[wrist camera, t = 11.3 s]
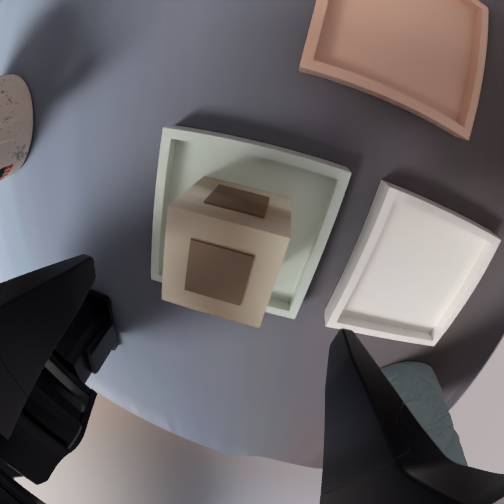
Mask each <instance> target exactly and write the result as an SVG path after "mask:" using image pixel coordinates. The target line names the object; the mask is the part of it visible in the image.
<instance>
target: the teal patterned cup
mask: <svg viewBox="0 0 504 504" xmlns="http://www.w3.org/2000/svg"><path fill="white" fill-rule="evenodd" d="M381 370H382V372H383V373H384V374H385V376H386V377H387V379H388V380H389V381H390V383H391V384H392V386H393V387H394V389H395V390H396V391H397V393H398V394H399V396H400V397H401V399H402V400H403V401H404V403H405V404H406V406H407V407H408V409H409V410H410V411H411V413H412V414H413V416H414V417H415V418H416V420H417V421H418V422H419V424H420V425H421V426H422V428H423V429H424V430H425V431H426V433H427V434H428V435H429V436H430V437H431V439H432V440H433V441H434V442H435V444H436V445H437V446H438V447H439V448H440V450H441V451H442V452H443V453H444V454H445V456H446V457H448V458H449V459H450V460H452V461H453V462H456V463H458V464H461V465H465V466H468V465H467V462H466V459H465V457H464V453H463V450H462V447H461V444H460V442H459V437H458V434H457V433H456V431H455V430H454V428H453V423H452V419H451V416H450V414H449V412H448V408H447V406H446V404H445V402H444V395H443V392H442V389H441V387H440V384H439V382H438V380H437V377H436V375H435V373H434V371H433V369H432V367H430V366H429V365H427V364H425V363H421V362H412V361H410V362H400V363H395V364H392V365H388V366H386V367H383V368H381ZM404 403H403V404H404Z"/></svg>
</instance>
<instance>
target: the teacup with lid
mask: <svg viewBox="0 0 504 504" xmlns="http://www.w3.org/2000/svg"><path fill="white" fill-rule="evenodd" d="M32 132H33V105H32V99H31V95H30V91H29V89H28V87H27V85H26V83H25V81H24V80H23V79H22V78H21V77H19V76H17V75H13V74H11V75H2V76H0V180H2V179H4V178H6V177H8V176H10V175H12V174H14V173H16V172H17V171H18V170H19V169H20V167H21V166H22V165H23V163H24V161H25V159H26V157H27V154H28V151H29V148H30V144H31V139H32Z"/></svg>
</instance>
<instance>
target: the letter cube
mask: <svg viewBox="0 0 504 504" xmlns="http://www.w3.org/2000/svg"><path fill="white" fill-rule="evenodd" d="M291 202H292V199H291V198H288V197H284V196H281V195H277V194H274V193H270V192H266V191H263V190H259V189H255V188H251V187H247V186H243V185H240V184H236V183H232V182H227V181H223V180H219V179H215V178H211V177H206V176H204V177H202V178H201V179H200V180H199V181H197V182H196V183H195V184H194V185H192V186H191V187H190V188H189V189H188V190H186V191H185V192H184V193H183V194H182V195H180V196H179V197H178V198H177V199H176V200H174V201H173V202H172V203H171V204H170V205H169V206H168V211H167V221H166V232H165V245H164V259H163V277H162V300H165V301H168V302H171V303H174V304H177V305H180V306H184V307H187V308H190V309H193V310H196V311H200V312H203V313H207V314H210V315H213V316H217V317H220V318H224V319H227V320H231V321H235V322H238V323H242V324H246V325H250V326H253V327H257V328H259V327H260V325H261V322H262V319H263V316H264V313H265V311H266V308H267V305H268V302H269V299H270V297H271V294H272V291H273V288H274V285H275V282H276V279H277V277H278V274H279V271H280V268H281V265H282V262H283V259H284V256H285V253H286V250H287V247H288V244H289V241H290V236H291Z"/></svg>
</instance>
